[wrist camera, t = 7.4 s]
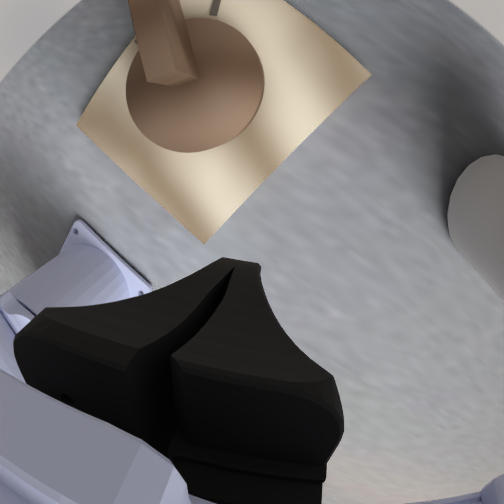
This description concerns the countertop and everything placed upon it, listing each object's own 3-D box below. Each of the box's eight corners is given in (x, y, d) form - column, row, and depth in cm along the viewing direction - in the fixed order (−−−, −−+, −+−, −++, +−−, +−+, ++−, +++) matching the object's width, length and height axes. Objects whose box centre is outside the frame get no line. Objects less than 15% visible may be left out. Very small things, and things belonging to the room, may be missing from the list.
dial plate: (209, 237, 21) (202, 245, 20) (86, 124, 19) (74, 125, 18) (367, 77, 15) (372, 73, 14) (215, -37, 13) (209, -46, 12)
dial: (280, 131, 16) (270, 134, 12) (154, 166, 18) (109, 183, 14) (230, -35, 12) (206, -74, 8) (115, 12, 14) (68, -6, 10)
